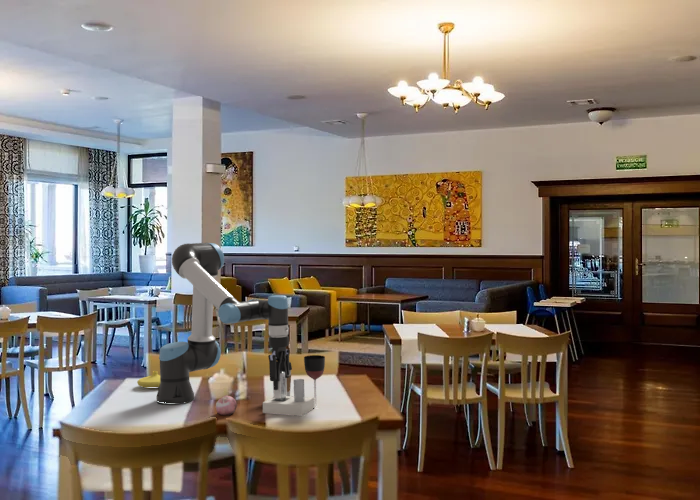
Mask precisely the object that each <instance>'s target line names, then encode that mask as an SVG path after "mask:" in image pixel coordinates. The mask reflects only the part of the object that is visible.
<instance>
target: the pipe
mask: <svg viewBox="0 0 700 500" xmlns="http://www.w3.org/2000/svg"><path fill="white" fill-rule="evenodd" d="M279 381H280V384H281V398H275V401H279V402H284V401H286V389H285V372H284V371H280V376H279Z"/></svg>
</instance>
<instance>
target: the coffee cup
mask: <svg viewBox="0 0 700 500" xmlns="http://www.w3.org/2000/svg"><path fill="white" fill-rule="evenodd" d="M292 370H293V366H292V363H291V361H289V375H287V376H289V378H287V395H286V396H291V385H292V384H291V383H292Z"/></svg>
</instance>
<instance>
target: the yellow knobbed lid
mask: <svg viewBox="0 0 700 500" xmlns="http://www.w3.org/2000/svg"><path fill="white" fill-rule="evenodd" d="M136 383H137V386H139V387H141V386H142V388H144V387H159V386H160V374H159V373H158V370H153V371H152V374H151V375H148V376H144V377H141V378H139V379H137V382H136Z"/></svg>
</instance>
